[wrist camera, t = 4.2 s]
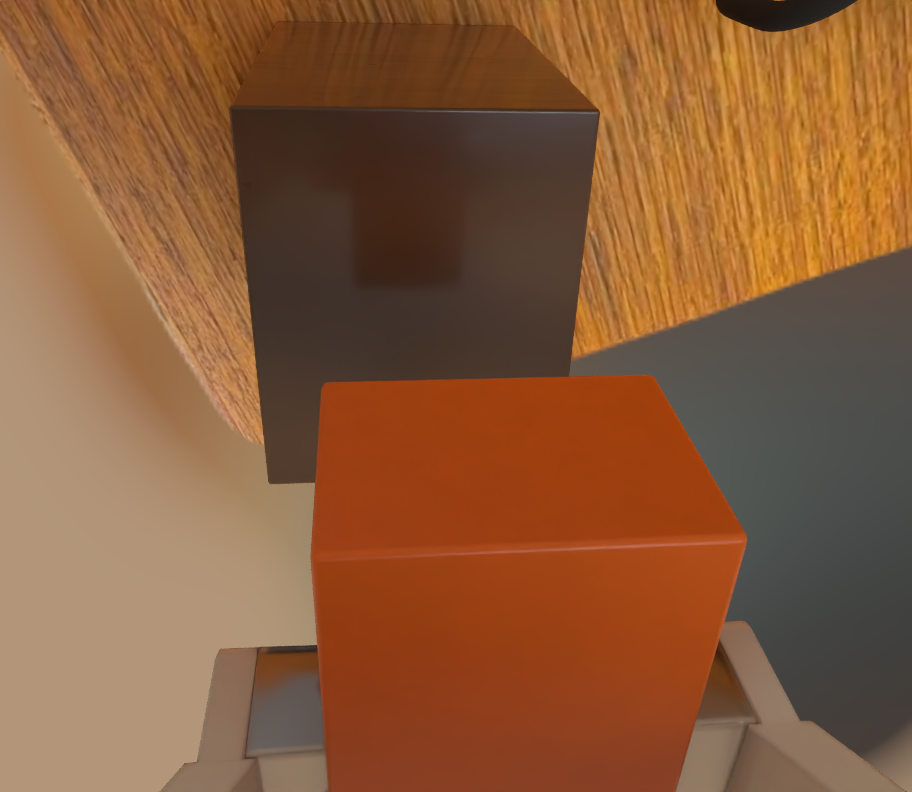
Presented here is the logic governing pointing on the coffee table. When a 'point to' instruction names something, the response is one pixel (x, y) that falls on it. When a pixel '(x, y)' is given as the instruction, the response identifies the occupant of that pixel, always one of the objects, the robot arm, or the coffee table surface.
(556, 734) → the block
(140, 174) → the coffee table surface
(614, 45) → the coffee table surface
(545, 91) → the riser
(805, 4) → the mug
